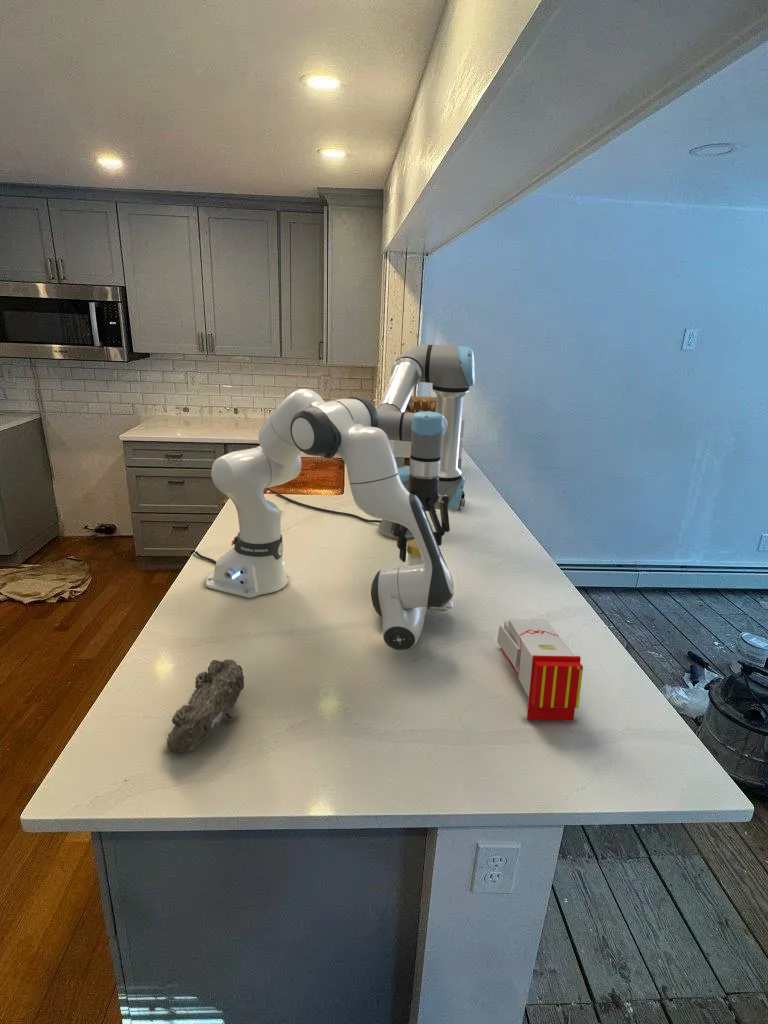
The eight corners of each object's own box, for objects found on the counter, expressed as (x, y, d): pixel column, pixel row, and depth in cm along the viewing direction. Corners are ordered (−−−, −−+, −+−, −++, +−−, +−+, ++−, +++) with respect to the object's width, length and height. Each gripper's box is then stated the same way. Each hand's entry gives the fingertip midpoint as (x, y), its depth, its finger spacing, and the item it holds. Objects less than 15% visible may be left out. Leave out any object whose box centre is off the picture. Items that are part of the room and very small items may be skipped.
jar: (415, 596, 157) (419, 541, 152) (429, 604, 153) (434, 548, 148) (400, 601, 154) (404, 546, 148) (414, 610, 150) (418, 553, 144)
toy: (543, 604, 136) (592, 662, 106) (538, 656, 138) (584, 727, 109) (493, 603, 135) (528, 661, 106) (489, 655, 138) (522, 726, 109)
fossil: (192, 660, 117) (244, 628, 112) (224, 691, 120) (276, 661, 115) (142, 746, 98) (202, 712, 93) (182, 779, 101) (242, 748, 96)
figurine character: (465, 515, 224) (460, 499, 237) (467, 498, 221) (462, 483, 234) (448, 515, 224) (444, 499, 237) (450, 498, 220) (445, 482, 234)
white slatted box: (382, 463, 289) (386, 382, 275) (445, 464, 293) (451, 384, 279) (390, 482, 257) (394, 392, 243) (460, 483, 261) (468, 394, 247)
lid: (411, 545, 152) (412, 537, 151) (434, 549, 150) (434, 541, 149) (403, 553, 147) (403, 545, 146) (426, 558, 144) (427, 550, 144)
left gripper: (452, 599, 137) (456, 574, 149) (370, 588, 140) (380, 565, 153) (450, 622, 139) (454, 596, 152) (369, 611, 142) (379, 586, 155)
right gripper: (456, 469, 148) (449, 548, 156) (379, 472, 141) (375, 556, 149) (469, 477, 141) (460, 560, 149) (389, 481, 135) (385, 568, 142)
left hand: (417, 580), depth 152 cm, fingers closed on jar, 5 cm apart
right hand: (418, 558), depth 149 cm, fingers open, 8 cm apart
